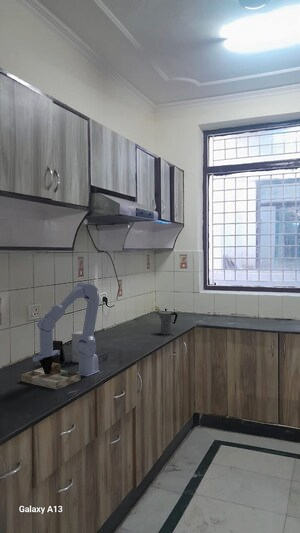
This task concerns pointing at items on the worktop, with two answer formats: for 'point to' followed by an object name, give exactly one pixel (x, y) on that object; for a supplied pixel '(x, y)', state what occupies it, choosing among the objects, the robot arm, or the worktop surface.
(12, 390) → the worktop surface
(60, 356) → the phone stand
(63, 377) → the trap board
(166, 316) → the coffeepot
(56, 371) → the walnut block
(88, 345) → the robot arm
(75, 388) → the worktop surface
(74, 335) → the skincare box
